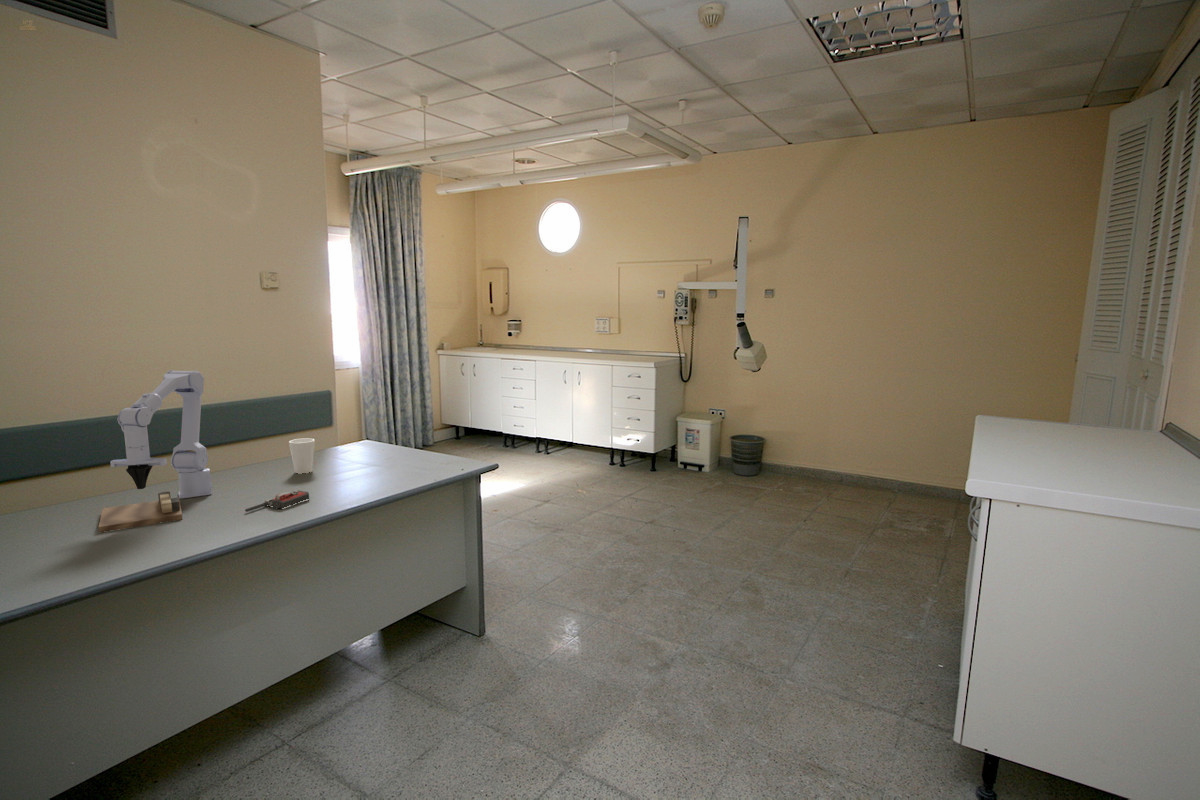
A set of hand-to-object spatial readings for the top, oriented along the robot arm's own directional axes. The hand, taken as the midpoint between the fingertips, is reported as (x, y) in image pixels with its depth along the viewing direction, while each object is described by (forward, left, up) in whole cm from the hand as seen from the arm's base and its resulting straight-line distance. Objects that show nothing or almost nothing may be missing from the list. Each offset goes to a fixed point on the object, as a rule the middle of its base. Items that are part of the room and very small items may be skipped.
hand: (141, 488), depth 186 cm
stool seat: (+1, 0, -9) cm, 9 cm away
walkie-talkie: (-36, +12, -10) cm, 39 cm away
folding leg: (-6, -1, -7) cm, 9 cm away
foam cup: (-51, -29, -10) cm, 60 cm away
